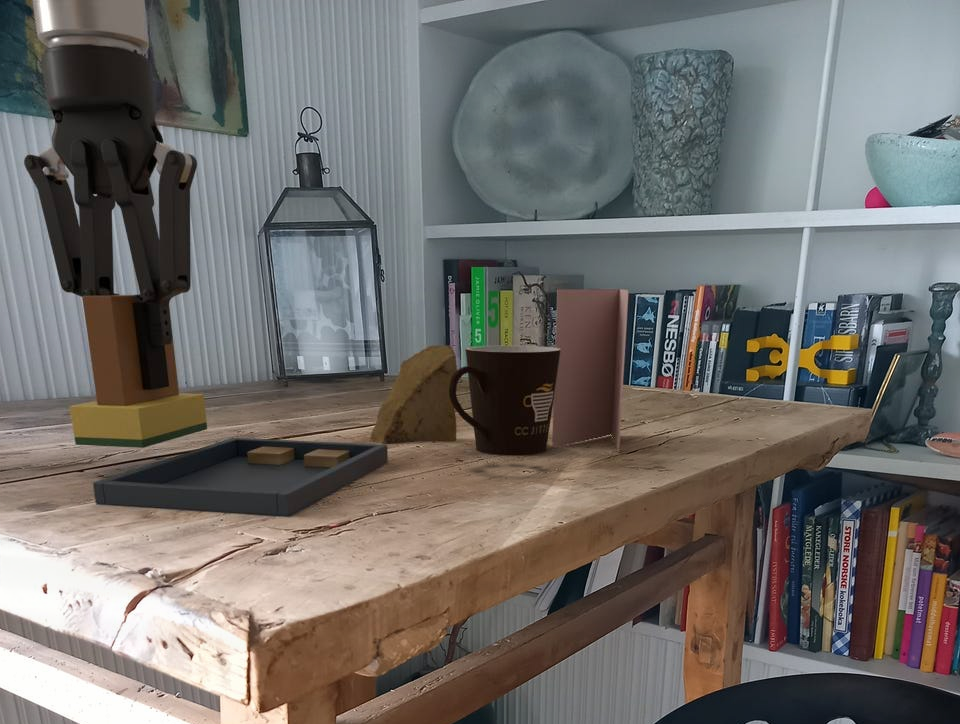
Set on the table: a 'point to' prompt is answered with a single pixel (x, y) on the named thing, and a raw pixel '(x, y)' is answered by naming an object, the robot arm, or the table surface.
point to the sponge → (129, 385)
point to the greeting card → (589, 364)
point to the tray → (239, 479)
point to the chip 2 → (325, 458)
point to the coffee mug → (509, 397)
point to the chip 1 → (270, 455)
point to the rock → (420, 400)
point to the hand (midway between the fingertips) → (138, 386)
